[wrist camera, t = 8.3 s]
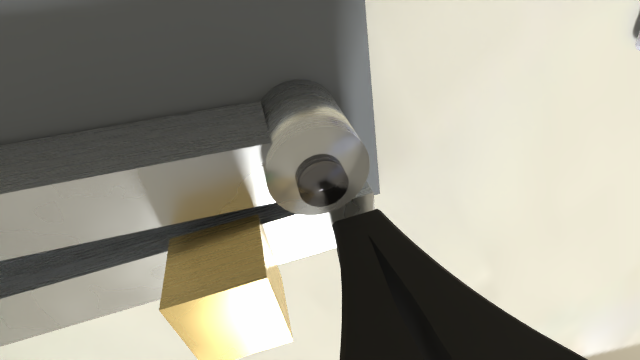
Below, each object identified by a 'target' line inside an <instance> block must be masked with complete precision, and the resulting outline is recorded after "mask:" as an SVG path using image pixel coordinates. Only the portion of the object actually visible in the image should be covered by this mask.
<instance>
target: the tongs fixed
mask: <svg viewBox="0 0 640 360" xmlns="http://www.w3.org/2000/svg"><path fill="white" fill-rule="evenodd" d="M372 210H375V204H374V193H373V191H372V189H371V188H370V186H369V184H368V182H367V181H366V182H365V184H364V186H363V188H362V189H361V191H360V192H359V193H358V194H357V195H356V196H355V197H354V198H353V199H352V200H351V201H350V202H348V203H347V204H346V205H344V206H342V207H341V208H339V209H337V210H334V211H332V212H329V213H325V214H320V215H299V214H295V213H292V212H289V211H287V210H285V209H284V208H282V207H281V206H279V205H278V204H277V203H271V204H266V205H262V206H257V207H252V208H247V209H243V210H238V211H233V212H229V213H224V214H219V215H214V216H210V217H205V218H200V219H196V220H191V221H186V222H181V223H177V224H172V225H167V226H163V227H158V228H153V229H148V230H144V231H139V232H134V233H130V234H125V235H120V236H115V237H111V238H106V239H101V240H97V241H92V242H87V243H82V244H78V245H73V246H68V247H64V248H59V249H54V250H49V251H45V252H40V253H35V254H31V255H26V256H21V257H16V258H12V259H7V260H2V261H0V346H4V345H7V344H11V343H14V342H17V341H21V340H24V339H27V338H31V337H34V336H38V335H41V334H44V333H48V332H51V331H55V330H58V329H61V328H65V327H68V326H71V325H75V324H78V323H82V322H85V321H88V320H92V319H95V318H99V317H102V316H105V315H109V314H112V313H115V312H119V311H122V310H126V309H129V308H132V307H136V306H139V305H143V304H146V303H149V302H153V301H156V300H159V299H161V294H162V287H163V281H164V274H165V267H166V260H167V253H168V246H169V240H170V239H171V238H175V237H178V236H182V235H185V234H189V233H192V232H196V231H199V230H203V229H206V228H210V227H214V226H217V225H221V224H224V223H228V222H231V221H235V220H238V219H242V218H245V217H249V216H253V215H256V214H258V216H259V218H260V221H261V224H262V226H263V229H264V232H265V234H266V237H267V240H268V242H269V245H270V248H271V250H272V253H273V256H274V258H275V261H276V264H277V265H278V264H281V263H285V262H288V261H291V260H295V259H298V258H302V257H305V256H308V255H312V254H315V253H319V252H322V251H325V250H329V249H332V248H335V247H336V243H335V238H334V233H333V228H332V225H333V223H334V222H335V221H338V220H341V219H345V218H348V217H351V216H355V215H358V214H362V213H365V212H369V211H372Z"/></svg>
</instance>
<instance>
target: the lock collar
mask: <svg viewBox="0 0 640 360" xmlns="http://www.w3.org/2000/svg"><path fill="white" fill-rule="evenodd" d="M159 311H160V312H161V313H162V315H163V316H164V317H165V318H166V320H167V321H168V322H169V323H170V325H171V326H172V327H173V328H174V330H175V331H176V332H177V333H178V335H179V336H180V337H181V339H182V340H183V341H184V342H185V344H186V345H187V346H188V347H189V349H190V350H191V351H192V352H193V354H194V355H195V356H196V357H197V359H198V360H235V359H238V358H241V357H244V356H247V355H250V354H254V353H257V352H260V351H263V350H266V349H270V348H273V347H276V346H279V345H282V344H285V343H289V342H292V341H293V338H292V332H291V327H290V321H289V316H288V310H287V305H286V299H285V294H284V288H283V283H282V277H281V274H280V272H279V269H278V266H277V264H276V261H275V258H274V256H273V253H272V250H271V248H270V245H269V242H268V240H267V237H266V234H265V232H264V229H263V226H262V224H261V221H260V218H259V216H258V214H256V215H253V216H249V217H245V218H242V219H238V220H235V221H231V222H228V223H224V224H221V225H217V226H214V227H210V228H206V229H203V230H199V231H196V232H192V233H189V234H185V235H182V236H178V237H175V238H171V239H170V240H169V246H168V253H167V260H166V267H165V274H164V281H163V287H162V294H161V301H160V308H159Z"/></svg>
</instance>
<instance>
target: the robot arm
mask: <svg viewBox="0 0 640 360" xmlns="http://www.w3.org/2000/svg"><path fill="white" fill-rule="evenodd" d="M636 48H637V50H639V51H640V32H639V35H638V37H637V40H636ZM332 228H333V233H334V238H335V243H336V247H337V252H338V257H339V262H340V267H341V281H342V330H341V349H340V360H587V359H586V358H584V357H582V356H580V355H578V354H577V353H575V352H573V351H571V350H570V349H568V348H566V347H564V346H562V345H561V344H559V343H557V342H555V341H553V340H552V339H550V338H548V337H546V336H545V335H543V334H541V333H539V332H537V331H536V330H534V329H532V328H531V327H529V326H527V325H526V324H524V323H523V322H521V321H519V320H518V319H516V318H515V317H513V316H511V315H510V314H508V313H507V312H505V311H504V310H502V309H500V308H499V307H497V306H496V305H494V304H493V303H491V302H490V301H488V300H487V299H485V298H484V297H483V296H481V295H480V294H478V293H477V292H475V291H474V290H473V289H471V288H470V287H468V286H467V285H466V284H464V283H463V282H462V281H460V280H459V279H458V278H456V277H455V276H454V275H452V274H451V273H450V272H449V271H447V270H446V269H445V268H443V267H442V266H441V265H440V264H438V263H437V262H436V261H435V260H434V259H432V258H431V257H430V256H429V255H428V254H426V253H425V252H424V251H423V250H422V249H420V248H419V247H418V246H417V245H416V244H415V243H414V242H412V241H411V240H410V239H409V238H408V237H407V236H406V235H405V234H404V233H403V232H402V231H400V230H399V229H398V228H397V227H396V226H395V225H394V224H393V223H392V222H391V221H390V220H389V219H388V218H387V217H386V216H385V215H384V214H383V213H382V212H381V211H380V210H378V209H375V210H372V211H369V212H365V213H362V214H358V215H355V216H351V217H348V218H345V219H341V220H338V221H335V222H334V223H333V225H332Z"/></svg>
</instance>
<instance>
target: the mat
mask: <svg viewBox="0 0 640 360" xmlns="http://www.w3.org/2000/svg"><path fill="white" fill-rule="evenodd" d="M292 80H307V81H311V82H314V83H317V84H319V85H321V86H322V87H324V88H325V89H326V90H327V91H328V92H329V93H330V94H331V95H332V97H333V99H334V100H335V102H336V103H337V105H338V106H339V108H340V109H341V111H342V112H343V114H344V115H345V117H346V118H347V120H348V121H349V123H350V125H351V126H352V128H353V129H354V131H355V132H356V134H357V135H358V137H359V138H360V140H361V141H362V143H363V144H364V146H365V148H366V150H367V152H368V155H369V160H370V169H369V174H368V177H367V180H366V181H367V182H368V184H369V186H370V188H371V189H372V191H373V193H374V195H377V194H380V188H379V176H378V163H377V150H376V137H375V125H374V112H373V99H372V86H371V74H370V61H369V48H368V35H367V23H366V10H365V0H0V145H5V144H11V143H17V142H23V141H29V140H34V139H40V138H46V137H52V136H58V135H63V134H69V133H75V132H81V131H87V130H92V129H98V128H104V127H110V126H116V125H122V124H127V123H133V122H139V121H145V120H151V119H156V118H162V117H168V116H174V115H180V114H185V113H191V112H197V111H203V110H209V109H215V108H220V107H226V106H232V105H238V104H244V103H249V102H255V101H261V100H262V99H263V97H264V96H265V95H266V94H267V93H268V92H269V91H270V90H271V89H273V88H274V87H276V86H278V85H280V84H282V83H284V82H288V81H292Z"/></svg>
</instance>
